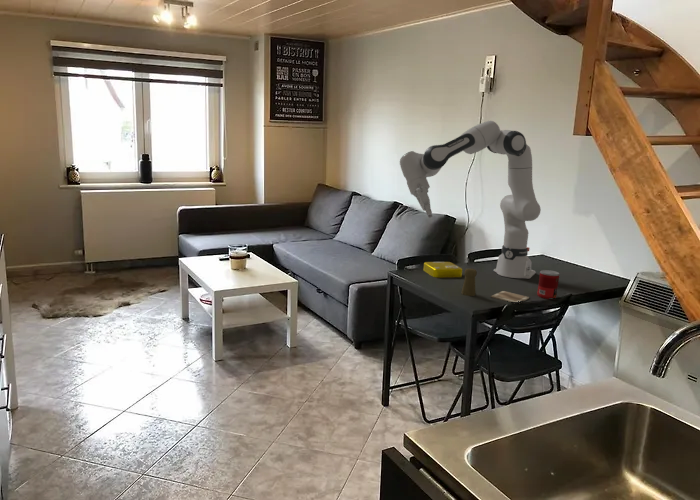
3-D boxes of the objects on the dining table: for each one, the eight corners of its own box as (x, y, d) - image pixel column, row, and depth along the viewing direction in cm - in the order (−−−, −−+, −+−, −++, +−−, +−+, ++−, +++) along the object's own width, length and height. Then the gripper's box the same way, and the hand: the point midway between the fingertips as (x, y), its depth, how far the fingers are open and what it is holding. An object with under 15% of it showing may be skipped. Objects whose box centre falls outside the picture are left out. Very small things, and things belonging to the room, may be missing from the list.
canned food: (557, 300, 246) (560, 275, 244) (537, 298, 248) (541, 273, 245) (554, 295, 253) (558, 271, 251) (535, 293, 255) (539, 269, 253)
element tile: (449, 270, 290) (450, 260, 289) (463, 278, 276) (464, 268, 275) (421, 270, 285) (422, 260, 284) (434, 278, 271) (435, 268, 270)
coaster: (503, 292, 254) (503, 290, 253) (529, 298, 246) (529, 296, 246) (490, 297, 244) (490, 295, 244) (517, 304, 237) (517, 302, 237)
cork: (459, 291, 250) (462, 267, 248) (473, 292, 251) (475, 267, 249) (463, 295, 244) (466, 270, 242) (477, 296, 245) (480, 271, 243)
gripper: (425, 179, 245) (437, 209, 243) (426, 189, 265) (437, 216, 263) (411, 184, 245) (423, 214, 243) (413, 194, 265) (424, 221, 263)
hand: (430, 215), depth 253 cm, fingers open, 8 cm apart
